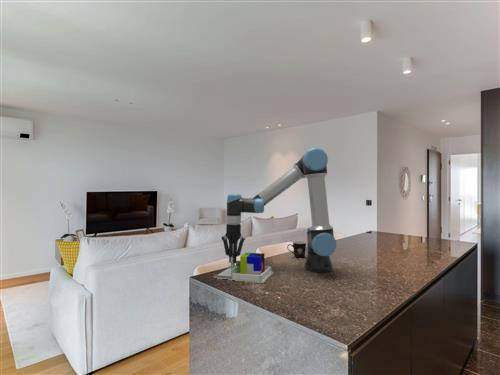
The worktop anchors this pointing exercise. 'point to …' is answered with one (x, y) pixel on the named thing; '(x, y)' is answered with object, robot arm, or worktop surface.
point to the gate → (236, 268)
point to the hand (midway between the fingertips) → (232, 269)
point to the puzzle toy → (252, 263)
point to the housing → (246, 276)
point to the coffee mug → (298, 249)
